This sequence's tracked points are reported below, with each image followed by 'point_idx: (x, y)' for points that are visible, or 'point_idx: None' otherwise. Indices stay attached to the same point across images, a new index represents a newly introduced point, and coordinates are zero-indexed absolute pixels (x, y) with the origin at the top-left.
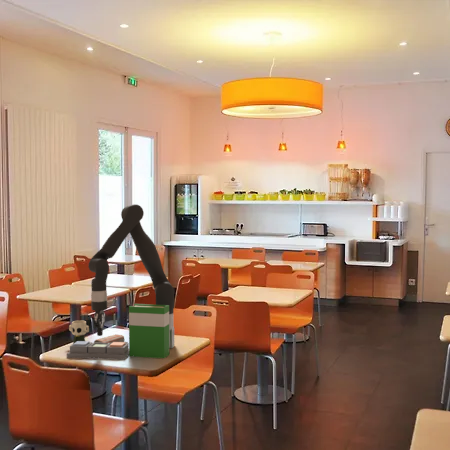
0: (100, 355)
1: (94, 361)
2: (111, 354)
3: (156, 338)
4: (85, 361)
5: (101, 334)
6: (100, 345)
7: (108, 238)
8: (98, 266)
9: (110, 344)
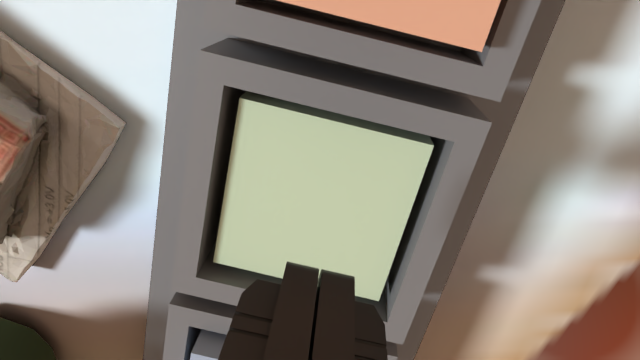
0: (493, 153)
1: (594, 198)
2: (558, 4)
3: None
4: (559, 280)
5: (350, 292)
6: (296, 195)
7: None
8: None
9: (449, 40)
